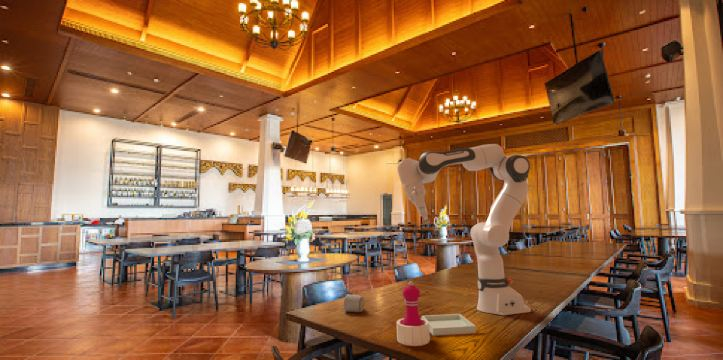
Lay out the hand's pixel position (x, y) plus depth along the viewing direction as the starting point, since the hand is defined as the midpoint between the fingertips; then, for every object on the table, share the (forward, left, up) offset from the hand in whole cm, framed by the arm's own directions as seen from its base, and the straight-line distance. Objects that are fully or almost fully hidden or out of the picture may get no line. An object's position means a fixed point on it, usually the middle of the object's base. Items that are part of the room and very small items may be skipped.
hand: (426, 220), depth 148 cm
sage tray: (-3, +12, -41) cm, 43 cm away
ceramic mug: (+31, -18, -41) cm, 55 cm away
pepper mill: (+13, +23, -41) cm, 49 cm away
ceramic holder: (+13, +23, -41) cm, 49 cm away
